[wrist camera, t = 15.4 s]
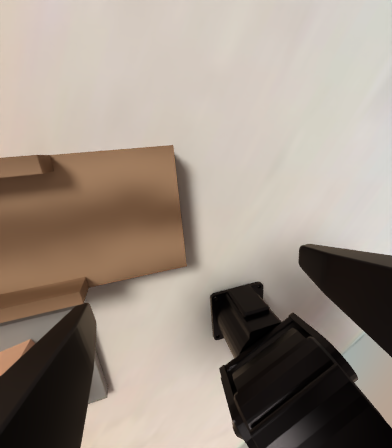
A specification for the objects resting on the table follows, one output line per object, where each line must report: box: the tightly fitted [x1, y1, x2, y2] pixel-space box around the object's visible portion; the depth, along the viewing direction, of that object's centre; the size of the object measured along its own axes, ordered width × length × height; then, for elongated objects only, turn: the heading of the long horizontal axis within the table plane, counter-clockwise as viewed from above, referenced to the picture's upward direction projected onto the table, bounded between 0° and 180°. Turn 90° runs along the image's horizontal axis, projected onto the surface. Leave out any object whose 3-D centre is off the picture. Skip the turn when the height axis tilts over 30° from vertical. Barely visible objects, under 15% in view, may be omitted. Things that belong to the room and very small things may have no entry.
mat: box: [0, 305, 108, 404], centre depth 20 cm, size 12×12×1 cm
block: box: [0, 339, 35, 376], centre depth 17 cm, size 5×5×5 cm
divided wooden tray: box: [0, 145, 187, 323], centre depth 15 cm, size 10×25×5 cm, turn 95°
